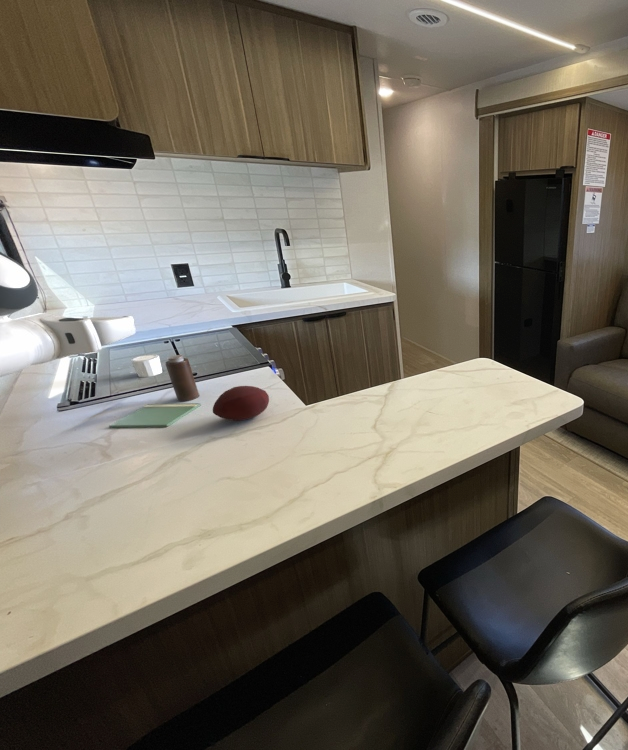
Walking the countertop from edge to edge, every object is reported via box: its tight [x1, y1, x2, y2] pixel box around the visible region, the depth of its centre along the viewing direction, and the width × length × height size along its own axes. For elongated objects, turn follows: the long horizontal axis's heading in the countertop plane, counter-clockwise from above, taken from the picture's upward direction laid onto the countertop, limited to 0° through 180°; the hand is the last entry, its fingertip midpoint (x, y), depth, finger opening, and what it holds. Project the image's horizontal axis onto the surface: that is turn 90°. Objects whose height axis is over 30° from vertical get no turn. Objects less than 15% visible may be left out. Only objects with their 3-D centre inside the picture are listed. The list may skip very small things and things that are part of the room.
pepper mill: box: [164, 354, 200, 402], centre depth 111 cm, size 5×5×12 cm
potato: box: [212, 385, 270, 421], centre depth 100 cm, size 12×11×8 cm
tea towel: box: [108, 402, 202, 429], centre depth 103 cm, size 14×12×1 cm
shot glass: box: [130, 354, 163, 378], centre depth 126 cm, size 7×7×7 cm
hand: (109, 319), depth 90 cm, fingers open, 8 cm apart
